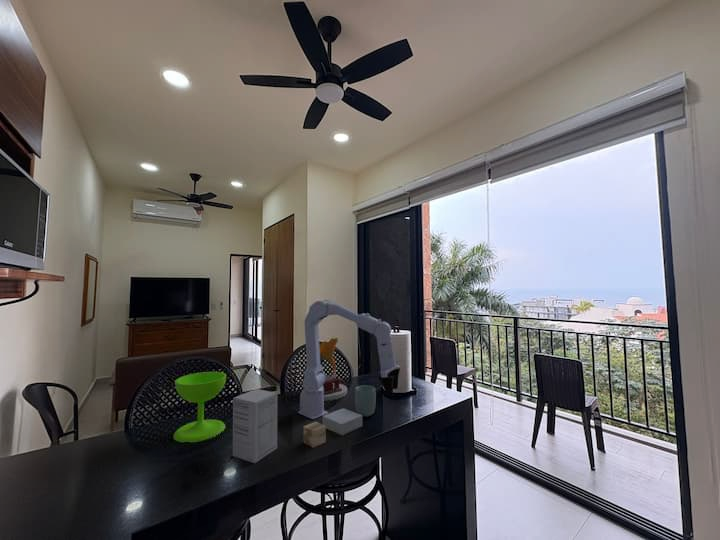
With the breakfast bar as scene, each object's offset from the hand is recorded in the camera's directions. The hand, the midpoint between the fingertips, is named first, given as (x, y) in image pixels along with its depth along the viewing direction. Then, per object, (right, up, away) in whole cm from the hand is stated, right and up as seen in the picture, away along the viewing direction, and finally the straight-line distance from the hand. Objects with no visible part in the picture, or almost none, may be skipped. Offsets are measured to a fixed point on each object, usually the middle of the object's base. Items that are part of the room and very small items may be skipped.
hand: (392, 392), depth 116 cm
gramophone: (-28, -13, +31) cm, 44 cm away
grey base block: (-18, -11, -5) cm, 22 cm away
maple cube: (-26, -10, -16) cm, 32 cm away
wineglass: (-67, -11, -8) cm, 68 cm away
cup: (-10, -11, +5) cm, 16 cm away
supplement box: (-43, -10, -22) cm, 49 cm away
